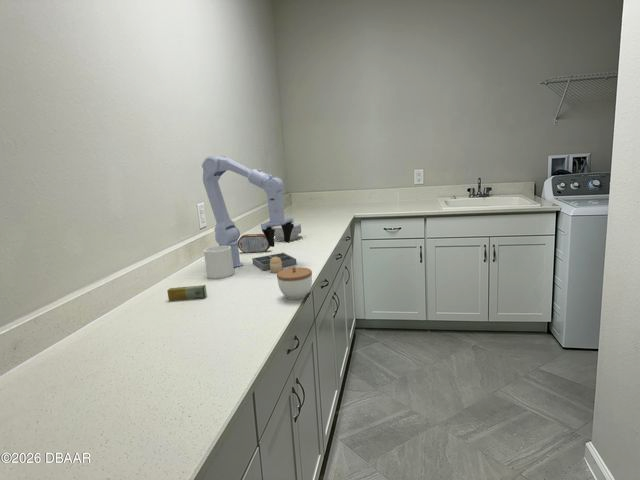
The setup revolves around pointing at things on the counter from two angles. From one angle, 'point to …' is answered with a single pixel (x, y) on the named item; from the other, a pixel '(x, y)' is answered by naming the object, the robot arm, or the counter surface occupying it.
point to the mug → (219, 262)
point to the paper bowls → (294, 233)
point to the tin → (253, 243)
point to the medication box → (187, 293)
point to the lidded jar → (295, 282)
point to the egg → (275, 264)
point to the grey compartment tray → (265, 260)
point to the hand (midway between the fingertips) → (279, 244)
